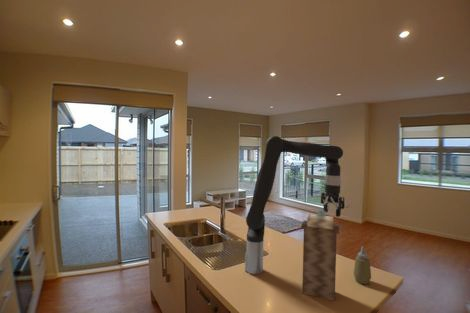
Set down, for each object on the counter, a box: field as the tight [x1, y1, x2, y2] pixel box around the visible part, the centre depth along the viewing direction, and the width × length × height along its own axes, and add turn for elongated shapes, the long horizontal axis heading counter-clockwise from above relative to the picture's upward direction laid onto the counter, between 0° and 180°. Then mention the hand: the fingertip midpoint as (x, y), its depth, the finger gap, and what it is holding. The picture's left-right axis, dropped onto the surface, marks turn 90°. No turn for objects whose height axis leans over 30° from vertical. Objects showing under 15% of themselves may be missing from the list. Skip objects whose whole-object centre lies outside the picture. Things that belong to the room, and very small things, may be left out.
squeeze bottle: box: [353, 246, 372, 285], centre depth 123 cm, size 8×8×18 cm
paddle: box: [306, 209, 334, 229], centre depth 116 cm, size 11×18×4 cm, turn 158°
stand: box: [301, 219, 340, 302], centre depth 112 cm, size 16×9×32 cm, turn 68°
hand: (331, 214), depth 127 cm, fingers open, 8 cm apart
